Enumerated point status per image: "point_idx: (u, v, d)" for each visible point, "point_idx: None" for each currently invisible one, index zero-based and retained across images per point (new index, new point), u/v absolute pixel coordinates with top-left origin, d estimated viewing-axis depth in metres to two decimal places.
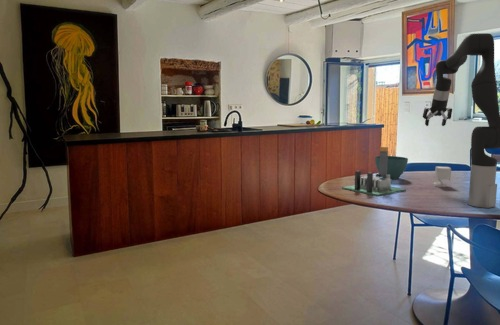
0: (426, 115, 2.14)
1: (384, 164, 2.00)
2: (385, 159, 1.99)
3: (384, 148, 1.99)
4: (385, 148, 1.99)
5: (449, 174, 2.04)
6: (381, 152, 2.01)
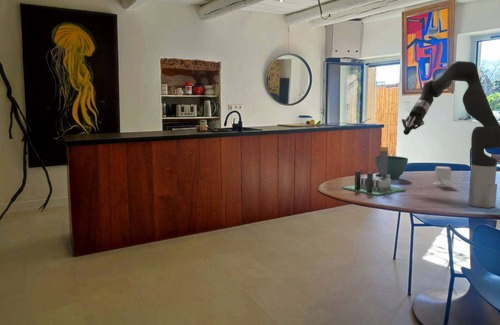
0: (404, 123, 2.13)
1: (384, 164, 2.00)
2: (385, 159, 1.99)
3: (384, 148, 1.99)
4: (385, 148, 1.99)
5: (449, 174, 2.04)
6: (381, 152, 2.01)
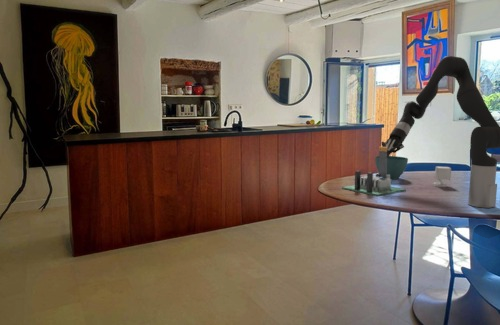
0: (384, 145, 2.05)
1: (384, 164, 2.00)
2: (384, 159, 1.99)
3: (383, 148, 1.99)
4: (384, 148, 1.98)
5: (449, 174, 2.04)
6: (380, 152, 2.01)
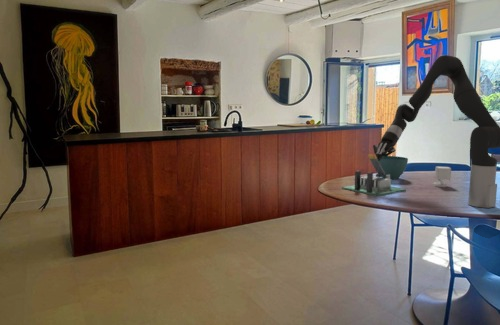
0: (375, 149, 2.01)
1: (379, 168, 1.98)
2: (378, 165, 1.96)
3: (372, 156, 1.95)
4: (373, 157, 1.94)
5: (449, 174, 2.04)
6: (371, 159, 1.97)
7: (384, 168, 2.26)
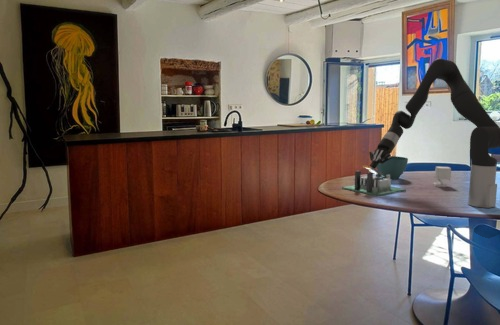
0: (371, 156, 2.00)
1: (377, 173, 1.97)
2: (375, 171, 1.96)
3: (367, 167, 1.93)
4: (368, 168, 1.93)
5: (449, 174, 2.04)
6: (367, 168, 1.96)
7: (384, 168, 2.26)
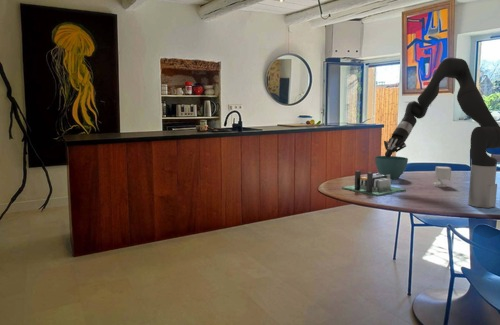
0: (386, 145, 2.06)
1: None
2: None
3: None
4: None
5: (449, 174, 2.04)
6: None
7: (384, 168, 2.26)
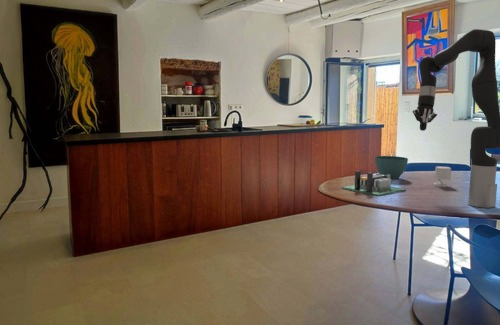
0: (420, 116, 1.95)
1: None
2: None
3: None
4: None
5: (449, 174, 2.04)
6: None
7: (384, 168, 2.26)
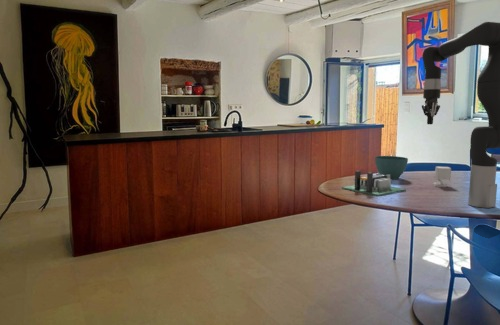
0: (429, 111, 1.91)
1: None
2: None
3: None
4: None
5: (449, 174, 2.04)
6: None
7: (384, 168, 2.26)
